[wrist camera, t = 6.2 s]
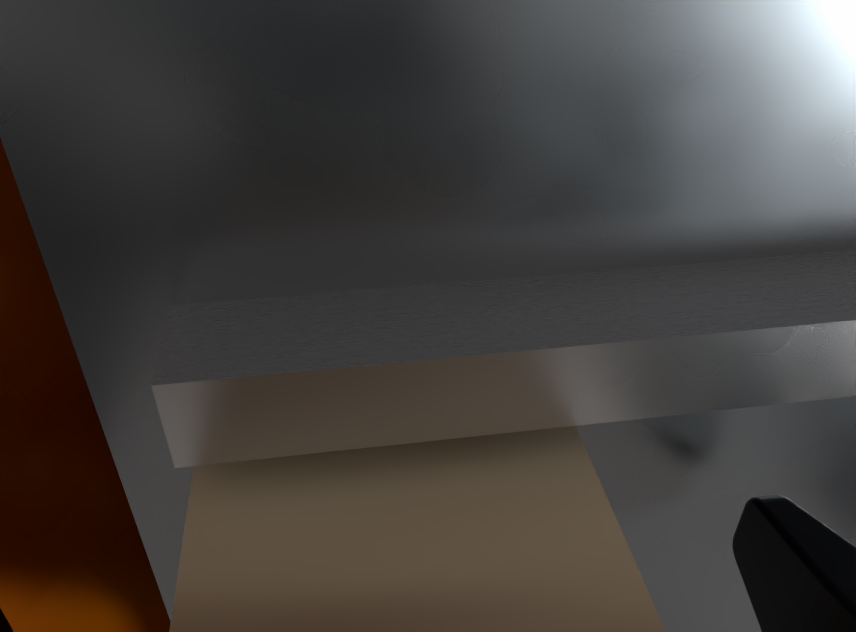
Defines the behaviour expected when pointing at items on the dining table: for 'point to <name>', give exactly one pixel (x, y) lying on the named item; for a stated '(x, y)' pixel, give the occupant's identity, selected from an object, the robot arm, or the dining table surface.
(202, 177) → the drilled plate
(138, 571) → the dining table surface
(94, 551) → the dining table surface
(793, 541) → the robot arm
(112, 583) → the dining table surface
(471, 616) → the block
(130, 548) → the dining table surface
